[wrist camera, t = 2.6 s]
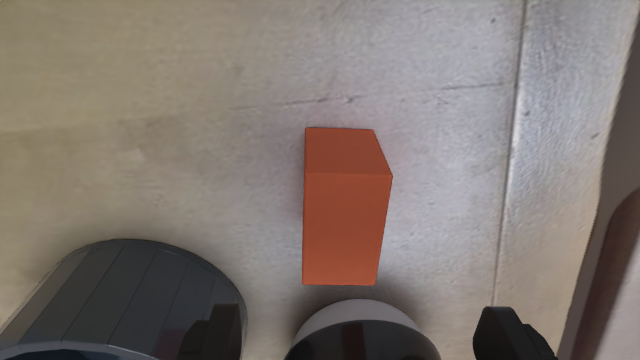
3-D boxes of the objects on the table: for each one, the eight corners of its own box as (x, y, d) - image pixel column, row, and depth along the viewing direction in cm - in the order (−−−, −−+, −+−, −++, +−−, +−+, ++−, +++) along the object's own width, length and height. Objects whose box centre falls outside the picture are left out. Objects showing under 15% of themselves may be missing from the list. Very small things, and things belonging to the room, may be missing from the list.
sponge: (302, 222, 22) (301, 285, 17) (305, 126, 19) (305, 173, 14) (361, 223, 22) (375, 286, 17) (373, 129, 19) (393, 175, 15)
